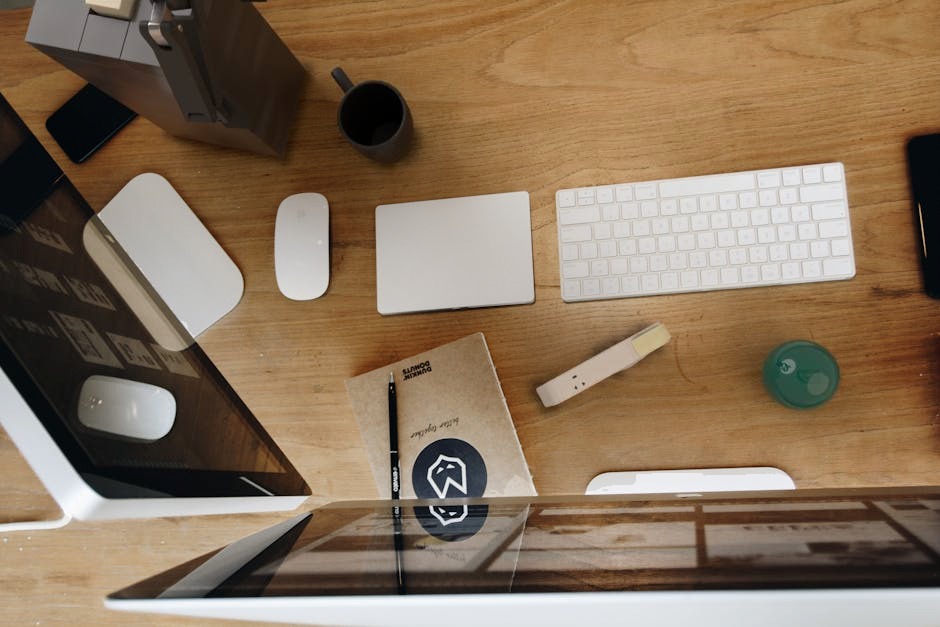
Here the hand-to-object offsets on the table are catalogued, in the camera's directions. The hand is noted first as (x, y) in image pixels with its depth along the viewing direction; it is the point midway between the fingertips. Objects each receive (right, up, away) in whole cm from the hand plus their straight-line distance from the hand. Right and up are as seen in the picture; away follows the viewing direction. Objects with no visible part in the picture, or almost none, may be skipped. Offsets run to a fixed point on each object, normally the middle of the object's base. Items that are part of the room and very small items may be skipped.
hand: (247, 60), depth 70 cm
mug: (+11, -2, +19) cm, 22 cm away
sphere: (+59, -32, +11) cm, 68 cm away
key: (-11, +5, -4) cm, 13 cm away
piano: (-8, +2, +22) cm, 23 cm away
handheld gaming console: (+38, -32, +13) cm, 51 cm away
